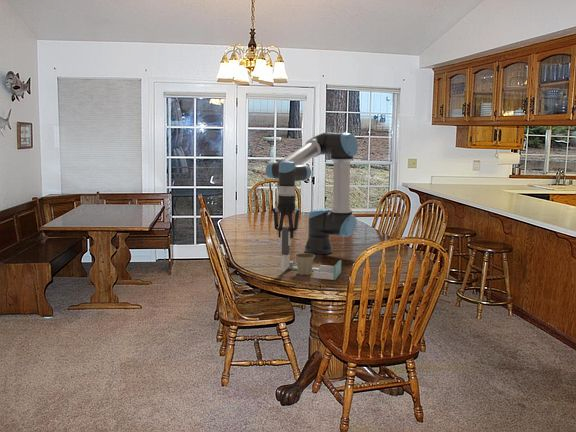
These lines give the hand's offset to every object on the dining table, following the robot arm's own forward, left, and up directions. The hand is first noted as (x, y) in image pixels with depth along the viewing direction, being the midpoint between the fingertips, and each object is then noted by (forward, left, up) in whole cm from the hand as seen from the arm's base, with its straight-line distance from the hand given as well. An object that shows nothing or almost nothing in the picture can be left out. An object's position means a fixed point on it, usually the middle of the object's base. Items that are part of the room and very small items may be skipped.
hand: (285, 244), depth 286 cm
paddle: (-2, 0, -12) cm, 12 cm away
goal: (0, +19, -13) cm, 23 cm away
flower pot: (0, +9, -13) cm, 16 cm away
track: (-6, +6, -13) cm, 16 cm away
